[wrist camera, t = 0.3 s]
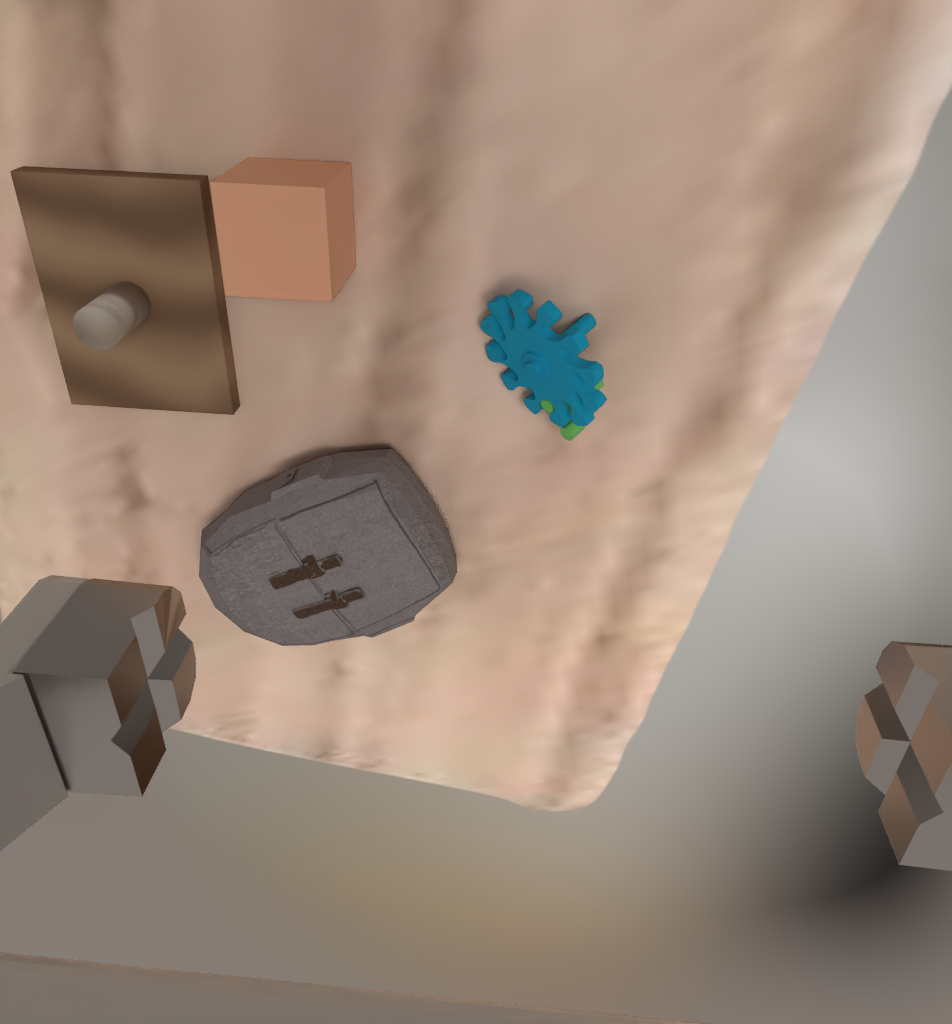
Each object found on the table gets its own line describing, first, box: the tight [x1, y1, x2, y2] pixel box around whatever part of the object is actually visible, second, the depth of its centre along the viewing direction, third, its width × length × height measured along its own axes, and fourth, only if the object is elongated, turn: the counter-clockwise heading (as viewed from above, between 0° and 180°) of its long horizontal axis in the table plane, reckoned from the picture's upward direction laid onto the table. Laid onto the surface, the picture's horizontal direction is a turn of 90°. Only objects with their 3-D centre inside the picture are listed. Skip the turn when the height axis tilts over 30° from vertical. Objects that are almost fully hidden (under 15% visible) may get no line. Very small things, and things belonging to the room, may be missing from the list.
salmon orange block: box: [210, 158, 356, 302], centre depth 50 cm, size 6×6×7 cm
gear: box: [480, 289, 607, 441], centre depth 54 cm, size 11×6×10 cm
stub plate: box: [10, 166, 240, 415], centre depth 54 cm, size 16×12×6 cm
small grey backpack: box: [199, 449, 457, 646], centre depth 63 cm, size 15×8×20 cm
